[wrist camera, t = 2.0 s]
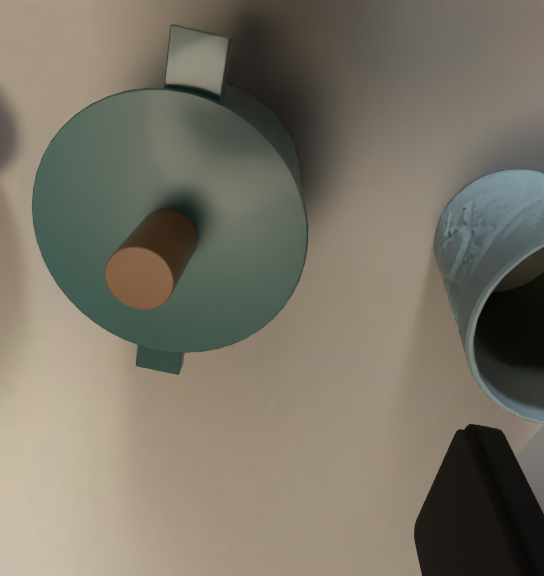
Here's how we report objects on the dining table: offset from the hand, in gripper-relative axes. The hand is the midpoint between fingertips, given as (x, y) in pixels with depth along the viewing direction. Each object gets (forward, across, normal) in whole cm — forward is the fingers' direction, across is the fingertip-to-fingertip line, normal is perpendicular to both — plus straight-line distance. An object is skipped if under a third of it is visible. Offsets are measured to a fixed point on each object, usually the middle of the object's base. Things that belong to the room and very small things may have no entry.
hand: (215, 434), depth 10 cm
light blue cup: (+24, -14, +2) cm, 28 cm away
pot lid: (+14, +4, +2) cm, 15 cm away
